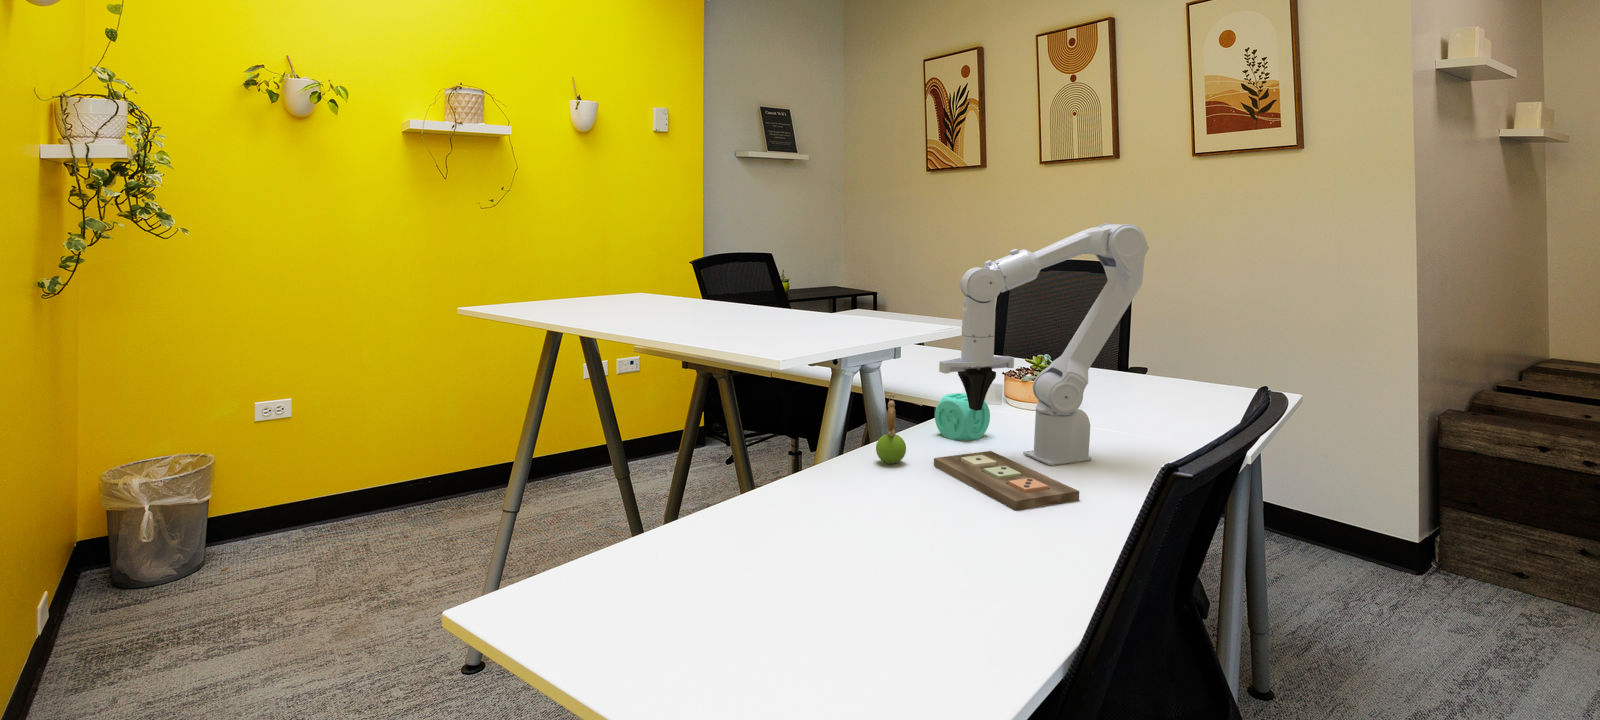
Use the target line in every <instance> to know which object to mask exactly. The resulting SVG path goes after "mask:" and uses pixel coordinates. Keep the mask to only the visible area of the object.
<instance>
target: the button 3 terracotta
mask: <svg viewBox="0 0 1600 720" xmlns="http://www.w3.org/2000/svg"><path fill="white" fill-rule="evenodd" d="M1008 485H1010V486H1012V487H1014V488H1016V489H1018V490H1020V491H1022V492H1024V493H1028V492H1035V491H1041V490H1048V485H1045V484H1043V483H1041V482H1039V481H1037V480H1035V479H1033V478H1025V479H1018V480H1011V481H1008Z"/></svg>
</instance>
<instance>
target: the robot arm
mask: <svg viewBox="0 0 1600 720" xmlns="http://www.w3.org/2000/svg"><path fill="white" fill-rule="evenodd" d="M1146 239H1147V238H1146V236H1145V233H1144V232H1143V230H1142V229H1141V228H1140V227H1139V226H1137V225H1135V224H1133V223H1124V224H1116V223H1115V224H1114V223H1112V222H1111V223H1109V222H1105V223H1102V224H1100V225H1099V226H1096V227H1095V226H1094V227H1090V228H1087V229H1084V230H1081V231H1078V232H1076V233H1073V234H1071V235H1070V236H1067V237H1065V238H1062V239H1060V240H1059V241H1058V240H1057V241H1056V242H1054V243H1052V244H1050V245H1047V246H1045V247H1042V248H1041V249H1039V250H1036V251H1034V252H1033V251H1032V252H1031V251H1029V250H1028V249H1020V250H1019V249H1018V248H1014V249H1011V250H1009V252H1008V253H1009V254H1008V255H1006V256H1003V257H1001V258H999V259H996V260H993V261H992V260H989V259H988V260H987V261H984V267H977V266H976V267H972V268H970V269H968V270H966V272H965V274H963V275H962V278H961V280H960V281H959V289H960V292H961V293H962V294H963V301H962V302H963V303H962V304H963V308H962V316H961V317H962V319H961V322H962V323H961V351H960V353H961V354H960V357H959V358H953V359H947V360H940V361H939V364H938V365H939V366H938V367H939V369H938V370H939V371H938V373H942V374H945V375H946V374H950V373H956V372H957V375H958V377H959V379H960V381H961V383H962V386H963V388H964V390H965V393H966V394H967V398H968V403H969V408H970V409H972V410H975V411H977V410H982V406H983V403H984V400H985V399H986V396H987V395H988V394H987V393H988V391H989V389H990V387H991V385H992V383H993V382H994V380H995V379H996V377H997V372H996V371H995V369H1005V368H1007V369H1014V367H1015V358H1014V357H1013V356H1009V355H1001V356H1000V355H999V356H997V355H996V356H995V335H996V334H995V332H996V330H995V329H996V299H997V297H998V296H999V295H1000V293H1005V292H1008V291H1010V290H1012V289H1015V288H1017V287H1020V286H1022V285H1025V284H1027V283H1029V282H1032V281H1034V280H1036V279H1037V278H1038V276H1039V273H1040V271H1041V270H1042V269H1045V268H1048V267H1051V266H1054V265H1056V264H1059V263H1062V262H1065V261H1067V260H1070V259H1073V258H1077V257H1078V256H1081V255H1092V256H1093V255H1094V256H1095V257H1096V258H1097V260H1098V261H1099V262H1100V264H1101V265H1102V266H1103V267H1102V268H1103V269H1104V272H1105V276H1106V278H1107V282H1106V283H1105V285H1104V286H1103V288H1102V290H1101V291H1100V293H1099V294H1098V296H1097V298H1096V299H1095V301H1094V302H1093V304H1092V306H1091V307H1090V309H1088V312H1087V314H1086V315H1085V317H1084V319H1083V320H1082V321H1081V323H1080V325H1079V327H1078V328H1077V330H1076V332H1075V333H1074V334H1073V337H1072V338H1071V339H1070V340H1069V342H1068V344H1067V346H1066V347H1065V349H1064V350H1063V352H1062V354H1061V355H1060V356H1059V357H1057V358H1055V359H1054V360H1053V361H1051V362H1050V364H1049V365H1048V367H1047V368H1046V369H1045V370H1044V371H1042V372H1041V373H1039V374H1037V376H1036V378H1034V380H1033V384H1032V393H1033V395H1034V397H1035V398H1036V400H1038V401H1037V404H1036V406H1035V417H1034V418H1035V420H1034V440H1033V450H1026V451H1023V455H1025V456H1027V457H1029V458H1032V459H1034V460H1036V461H1039V462H1041V463H1043V464H1046V465H1048V466H1056V465H1063V464H1071V463H1078V462H1086V461H1092V456H1090V454H1089V453H1090V441H1091V440H1090V439H1091V438H1090V437H1091V422H1090V419H1089V416H1088V415H1087V413H1086V412H1085V411H1083V409H1080V406H1081V405H1082V404H1083V398H1084V392H1085V389H1086V387H1087V386H1088V384H1089V371H1090V370H1089V369H1090V368H1091V366H1092V364H1093V363H1094V362H1095V360H1096V358H1097V357H1098V356H1099V354H1100V352H1101V351H1102V349H1103V347H1104V346H1105V344H1106V343H1107V341H1108V339H1109V337H1111V335H1112V333H1113V331H1114V330H1115V328H1116V326H1117V325H1118V323H1119V322H1120V320H1121V319H1122V317H1123V315H1124V314H1125V312H1126V311H1127V309H1128V308H1129V306H1130V305H1131V303H1132V301H1133V300H1134V299H1135V296H1136V295H1137V293H1138V292H1139V290H1140V288H1141V286H1142V284H1143V278H1144V268H1145V267H1144V266H1145V260H1146V259H1145V258H1146V255H1147V253H1148V251H1149V249H1150V247H1149V245H1148V241H1147V240H1146ZM985 401H986V400H985Z"/></svg>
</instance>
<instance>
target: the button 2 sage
mask: <svg viewBox="0 0 1600 720" xmlns="http://www.w3.org/2000/svg"><path fill="white" fill-rule="evenodd" d="M983 472H984V473H986V474H988V475H990V476H992V477H994V478H996V479H998V480H1000V479H1007V478H1014V477H1021V473H1020V472H1018V471H1016V470H1014V469H1011V468H1009V467H1007V466H999V467H992V468H984V470H983Z"/></svg>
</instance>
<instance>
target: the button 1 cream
mask: <svg viewBox="0 0 1600 720" xmlns="http://www.w3.org/2000/svg"><path fill="white" fill-rule="evenodd" d="M961 461H962V462H964V463H966V464H968V465H970V466H972V467H974V468H975V467H983V466H991V465H996V462H997V461H994V460H992V459H990V458H988V457H986V456H984V455H976V456H968V457H961Z"/></svg>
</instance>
